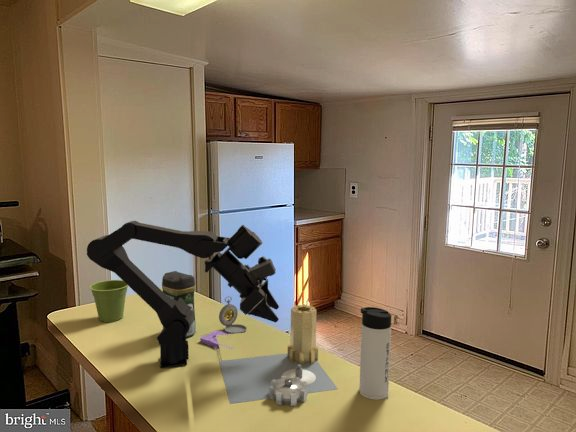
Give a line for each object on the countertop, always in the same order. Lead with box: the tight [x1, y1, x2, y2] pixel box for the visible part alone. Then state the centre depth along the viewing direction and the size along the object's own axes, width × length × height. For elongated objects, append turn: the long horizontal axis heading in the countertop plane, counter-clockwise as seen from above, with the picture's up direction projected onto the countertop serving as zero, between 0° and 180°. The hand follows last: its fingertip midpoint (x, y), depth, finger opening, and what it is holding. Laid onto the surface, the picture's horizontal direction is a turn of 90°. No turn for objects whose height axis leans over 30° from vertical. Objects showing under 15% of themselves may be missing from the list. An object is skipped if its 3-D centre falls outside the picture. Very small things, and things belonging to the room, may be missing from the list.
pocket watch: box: [218, 296, 248, 335], centre depth 131 cm, size 8×8×10 cm
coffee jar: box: [161, 270, 197, 339], centre depth 127 cm, size 10×8×19 cm
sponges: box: [199, 330, 235, 350], centre depth 122 cm, size 7×13×2 cm, turn 55°
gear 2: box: [269, 376, 308, 407], centre depth 93 cm, size 8×8×3 cm
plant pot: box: [89, 279, 129, 323], centre depth 139 cm, size 12×12×11 cm
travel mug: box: [358, 306, 392, 401], centre depth 94 cm, size 6×7×20 cm
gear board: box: [218, 352, 339, 405], centre depth 102 cm, size 24×20×4 cm
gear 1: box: [287, 304, 319, 365], centre depth 110 cm, size 8×8×13 cm
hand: (277, 314), depth 110 cm, fingers open, 9 cm apart
